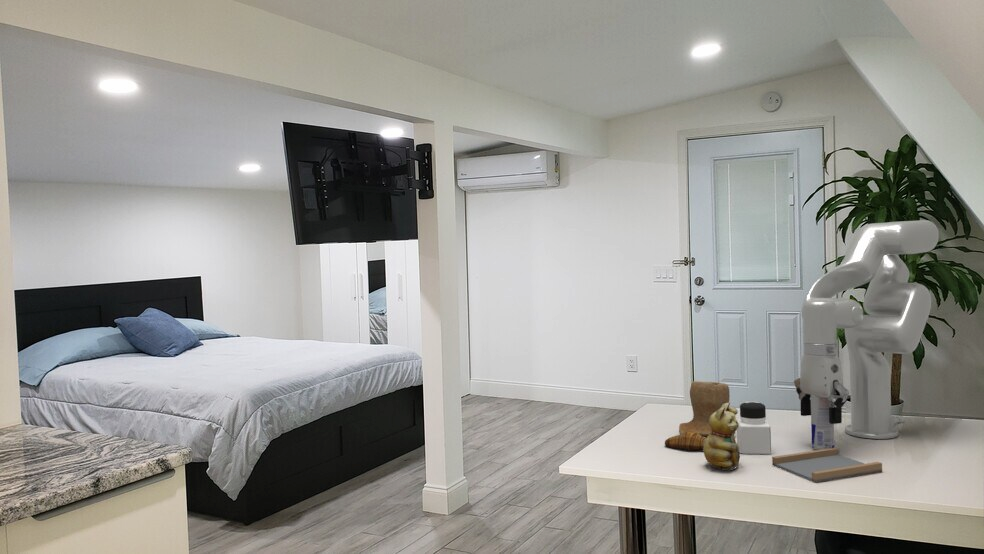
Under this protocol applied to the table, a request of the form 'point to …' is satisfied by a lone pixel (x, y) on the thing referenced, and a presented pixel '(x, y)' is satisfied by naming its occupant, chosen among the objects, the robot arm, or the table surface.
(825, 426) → the beverage can
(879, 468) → the rail mat
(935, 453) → the table surface
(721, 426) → the decorative figurine
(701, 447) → the croissant
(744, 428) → the medicine bottle
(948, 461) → the table surface
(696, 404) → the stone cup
